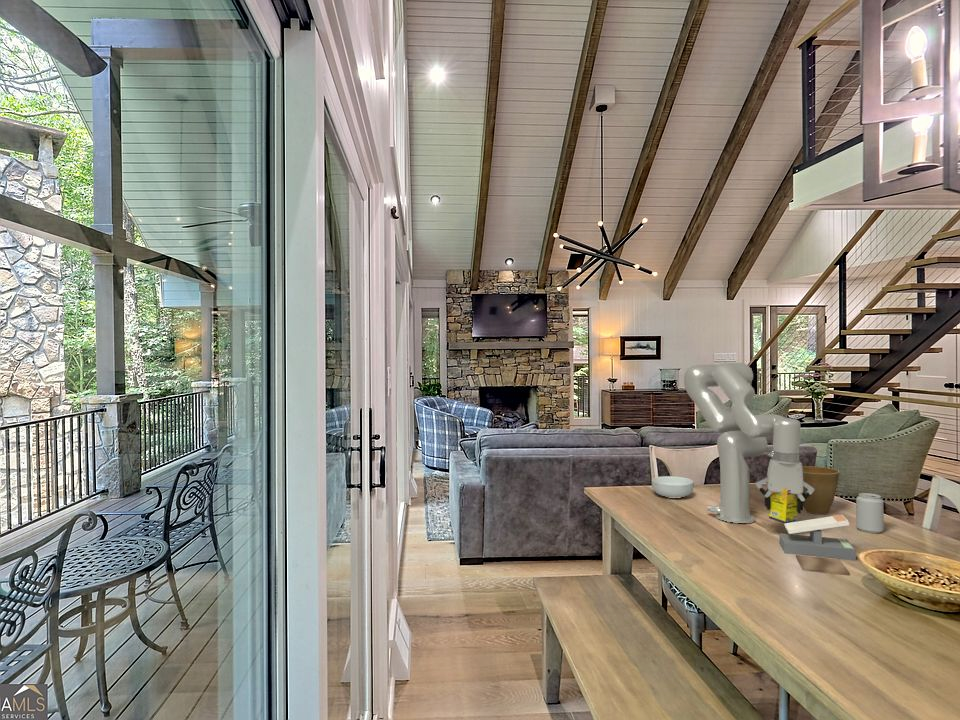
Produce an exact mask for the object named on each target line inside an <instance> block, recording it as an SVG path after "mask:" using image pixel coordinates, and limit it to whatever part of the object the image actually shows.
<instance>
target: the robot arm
mask: <svg viewBox="0 0 960 720" xmlns="http://www.w3.org/2000/svg"><path fill="white" fill-rule="evenodd" d="M753 380H754V373H753V370H752V368H751V366H749V365H748V364H746V363H743V362H723V363H719V364H697V365H693V366H690V367H689V368H686V371H685V373H684V375H683V384H684V385H683V386H684V388H685V390H686V393H687V395H688V396H689V398H690V399H691V400H692V401H693V403H694V404H695V406H697V408H698V410H699V412H700V414H701V415H702V417H703V419H704V420H705V422H706V423H707V425H708V427H709V428H710V429H711V430H712V432H714V433H717V434H719V436H718V438H717V441H716V445H717V446H716V447H717V452H718V457H719V467H720V468H719V471H720V472H719V474H720V475H719V476H720V477H719V479H720V481H719V482H720V486H719V487H720V502H719V504H718V505H715V506H714V505H707V506H706V511H708V512H709V511H710V513H716V514H715V517H717V518H718V520H719V519H721V520H720V521H722V520H724V521H723V522H725V521H727V522H726V523H730V522H733V523H732V524H738V523H747V524H752V523H755V519H756V518H755V517H754V516H753V515H752V514H751V512H750V508H751V507H750V506H751V505H750V504H751V503H750V498H751V496H750V492H751V491H750V468H749V466H748V463H747V462H746V460H745V458H751V457H759V456H762V455H764V454H765V453H766V452H767V450H768V440H767V438H773V439H772V450H771V451H768V452H767V455H766V456H767V457H770V459H769V463H768V467H767V473H766V477H763V478H761V479H760V480H757V481H755V483H754V484H755V486H756V487H757V489H758V490H759V492H760V493H761V494H762V495H763V496H764V507H766V509H767V510H768V511H769V510H770V500H771V499H770V495H771V494H772V492H776V493H781V492H782V489H788V490H791V494H797V495H798V505H797V514H801V512H802V511H804V506H803V501H805V499H806V498H808V497H809V496H810V495H811V494H812V493H813V491H814V490H815V489H814V488H813V487H812V486H810V485H809V484H807V483H806V482H804V481H803V468H802V466H803V463H802V462H801V461H800V447H801V446H800V444H801V441H800V440H801V422H800V420H798V419H795V418H790V417H785V416H782V415H781V414H780V415H779V414H776V413H775V414H774V413H771V414H770V413H769V414H767V413H766V414H765V413H764V414H754V413H753V412H752V411H751V410H750V408H748V407H747V404H749V403H750V402H751V401H752V400H753V399H754V397H755V396H756V395H755V394H756V392H755V388H754V387H753V386H752V385H751V383H752V381H753ZM709 387H711V388H713V387H719V388H720V389H721V391H722V392H723V393H724V395H726V397H727V398H728V399H729V401H731V406H727V405H725V403H723V401H722V400H721V398H720V397H719V395H717V393H716V392H714V391H713V390H711V389H710V388H709ZM764 484H766V487H767V488H766V489H765V488H763V486H762V485H764ZM803 486H804V487H806V488H807V489H808V490H807V491H806V492H805V493H804V494H802V493H803ZM717 518H716V519H717Z"/></svg>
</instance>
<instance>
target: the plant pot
mask: <svg viewBox="0 0 960 720" xmlns="http://www.w3.org/2000/svg"><path fill="white" fill-rule="evenodd" d="M802 468H803V481H804V482H806V483H807V484H809V485H810V486H812V487H813V488H814V489H815V490H814V491H813V493H812V494H811V495H810V496H809V497H808V498H806V499H805V501H803V510H804V511H805V512H806V513H808V514H812V515H819V516H822V515H823V516H826V515H829V513H830V511H831V509H832V506H833V503H834V500H835V497H836V493H837V489H838V483H839V479H840V478H839V477H840V470H838V469H836V468H831V467H825V466H824V467H823V466H814V465H813V466H809V465H808V466H807V465H806V466H805V465H804V466H803V465H802ZM807 490H808V489H807V488H806V487H804V486H803V493H802V494H804V493H805V492H806V491H807Z"/></svg>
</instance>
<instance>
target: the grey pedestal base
mask: <svg viewBox="0 0 960 720" xmlns="http://www.w3.org/2000/svg"><path fill="white" fill-rule="evenodd" d="M822 533H823V532H822V529H820V530H813V531H809V535H806V534H805V535H803V534H794V533H793V534H789V533H783V532H782V533H781V532H780V533H779V534H778V535H779V545H780V547H781V548H782V551H783V553H784V554H789V555H802V556H812V557H822V558H832V559H840V560H846V561H847V560H850V561H856V560H857V551H856V548H855V547H854V546H853V545H852V544H851V542H850V541H849V540H848V539H847V538H838V537H837V538H836V537H825V536H823V534H822Z"/></svg>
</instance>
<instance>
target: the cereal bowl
mask: <svg viewBox="0 0 960 720" xmlns="http://www.w3.org/2000/svg"><path fill="white" fill-rule="evenodd" d="M694 485H695V481H694V480H692V479H691V478H687V477H683V476H673V475H668V476H667V475H666V476H664V475H663V476H657V477H656V476H655V477H653V478H651V487H652V489H653V491H654V492H655V493H656V494H658V495H659V496H662V497H663V496H666V497H676V498H677V497H683V498H684V497H687V496H689V495H690V494H691V493H693V491H694Z"/></svg>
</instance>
